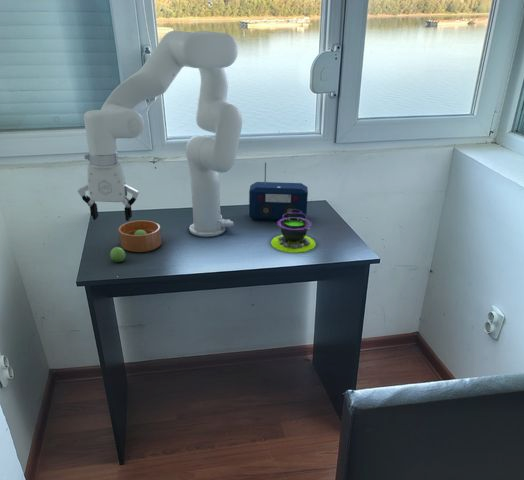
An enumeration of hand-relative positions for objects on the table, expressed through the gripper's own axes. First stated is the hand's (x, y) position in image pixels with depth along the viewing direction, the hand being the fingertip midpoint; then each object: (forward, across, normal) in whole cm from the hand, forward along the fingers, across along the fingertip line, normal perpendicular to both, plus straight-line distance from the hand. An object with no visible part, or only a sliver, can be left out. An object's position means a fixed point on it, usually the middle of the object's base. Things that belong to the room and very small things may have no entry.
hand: (112, 218), depth 154 cm
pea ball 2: (+10, +5, +13) cm, 17 cm away
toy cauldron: (+13, +55, +17) cm, 59 cm away
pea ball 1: (+11, 0, 0) cm, 11 cm away
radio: (+12, +50, +40) cm, 65 cm away
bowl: (+13, +5, +13) cm, 19 cm away
